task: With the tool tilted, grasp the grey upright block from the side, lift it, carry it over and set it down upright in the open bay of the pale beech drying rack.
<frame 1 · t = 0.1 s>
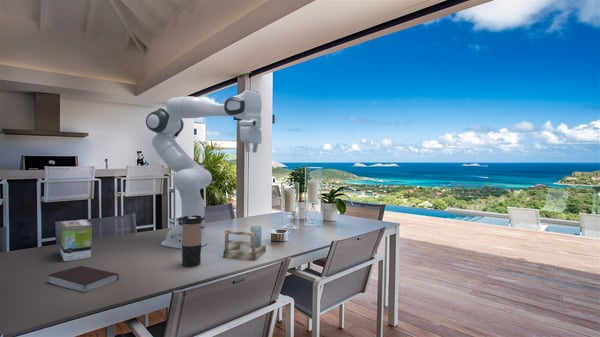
hand: (251, 152, 159), 48 cm above the table, tool pointing down, fingers open, 8 cm apart
tea box: (75, 256, 144), on the table
book: (83, 283, 115), on the table
rack: (245, 254, 152), on the table
grey upright block: (255, 246, 166), on the table
travel mug: (191, 264, 136), on the table
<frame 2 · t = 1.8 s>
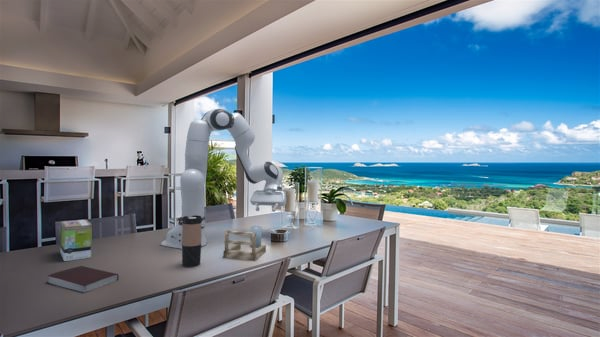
hand: (265, 210, 177), 17 cm above the table, tool tilted 45°, fingers open, 8 cm apart
nothing on the table moved.
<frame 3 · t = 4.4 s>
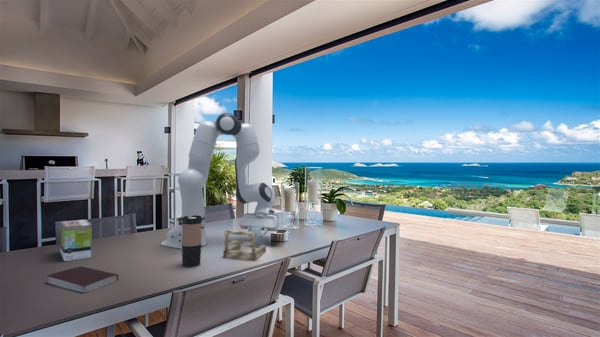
hand: (255, 236, 165), 5 cm above the table, tool tilted 45°, fingers closed on grey upright block, 5 cm apart
grey upright block: (255, 246, 166), on the table, touching gripper
everything else where it was.
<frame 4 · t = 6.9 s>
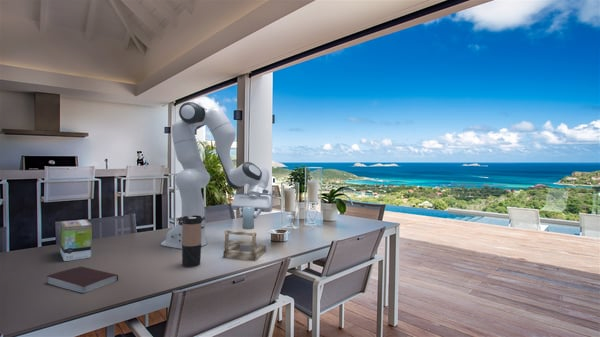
hand: (248, 217, 154), 17 cm above the table, tool tilted 45°, fingers closed on grey upright block, 5 cm apart
grey upright block: (248, 228, 155), point 12 cm above the table, touching gripper
everything else where it was.
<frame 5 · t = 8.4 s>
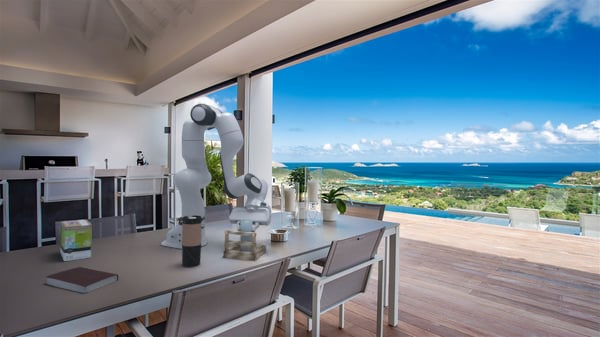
hand: (245, 231, 151), 11 cm above the table, tool tilted 45°, fingers closed on grey upright block, 5 cm apart
grey upright block: (246, 242, 152), point 6 cm above the table, touching gripper
everything else where it was.
when the fingers open (7 cm above the table, at t = 9.6 s): grey upright block drops 1 cm, resting in rack.
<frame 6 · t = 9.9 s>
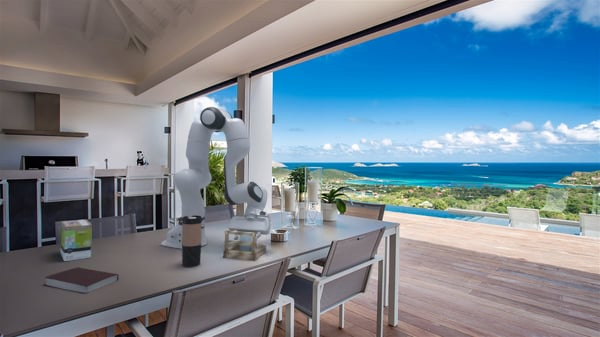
hand: (245, 240, 152), 7 cm above the table, tool tilted 45°, fingers open, 8 cm apart
grey upright block: (245, 254, 152), resting in rack
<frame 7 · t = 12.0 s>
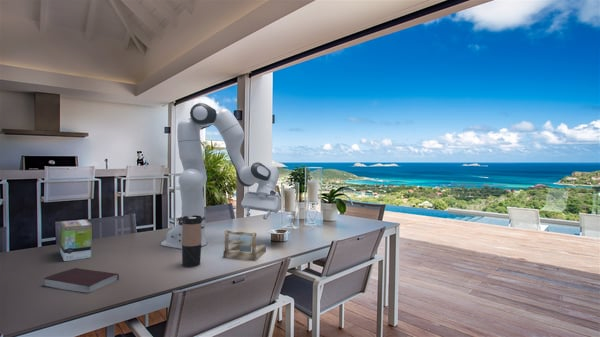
hand: (256, 217, 163), 15 cm above the table, tool tilted 35°, fingers open, 8 cm apart
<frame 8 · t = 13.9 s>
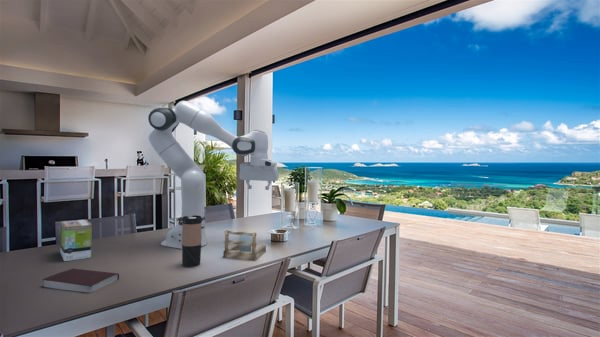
hand: (258, 189, 167), 29 cm above the table, tool pointing down, fingers open, 8 cm apart
at the end: grey upright block inside the target area on the rack (0.0 cm from its centre), point 0.0 cm above the rack's base; grey upright block tilted 0° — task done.
